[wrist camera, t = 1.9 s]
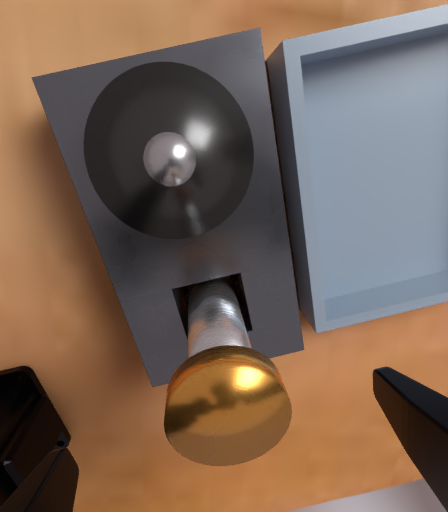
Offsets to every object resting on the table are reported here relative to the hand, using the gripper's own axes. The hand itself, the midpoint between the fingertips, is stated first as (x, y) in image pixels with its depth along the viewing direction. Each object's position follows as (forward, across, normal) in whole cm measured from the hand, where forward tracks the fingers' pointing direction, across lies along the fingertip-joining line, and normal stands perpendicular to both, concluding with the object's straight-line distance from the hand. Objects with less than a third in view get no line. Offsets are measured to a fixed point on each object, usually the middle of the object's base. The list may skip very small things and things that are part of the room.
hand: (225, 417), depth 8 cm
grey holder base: (+9, 0, -4) cm, 10 cm away
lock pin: (+9, 0, 0) cm, 9 cm away
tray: (+9, -11, -4) cm, 14 cm away
